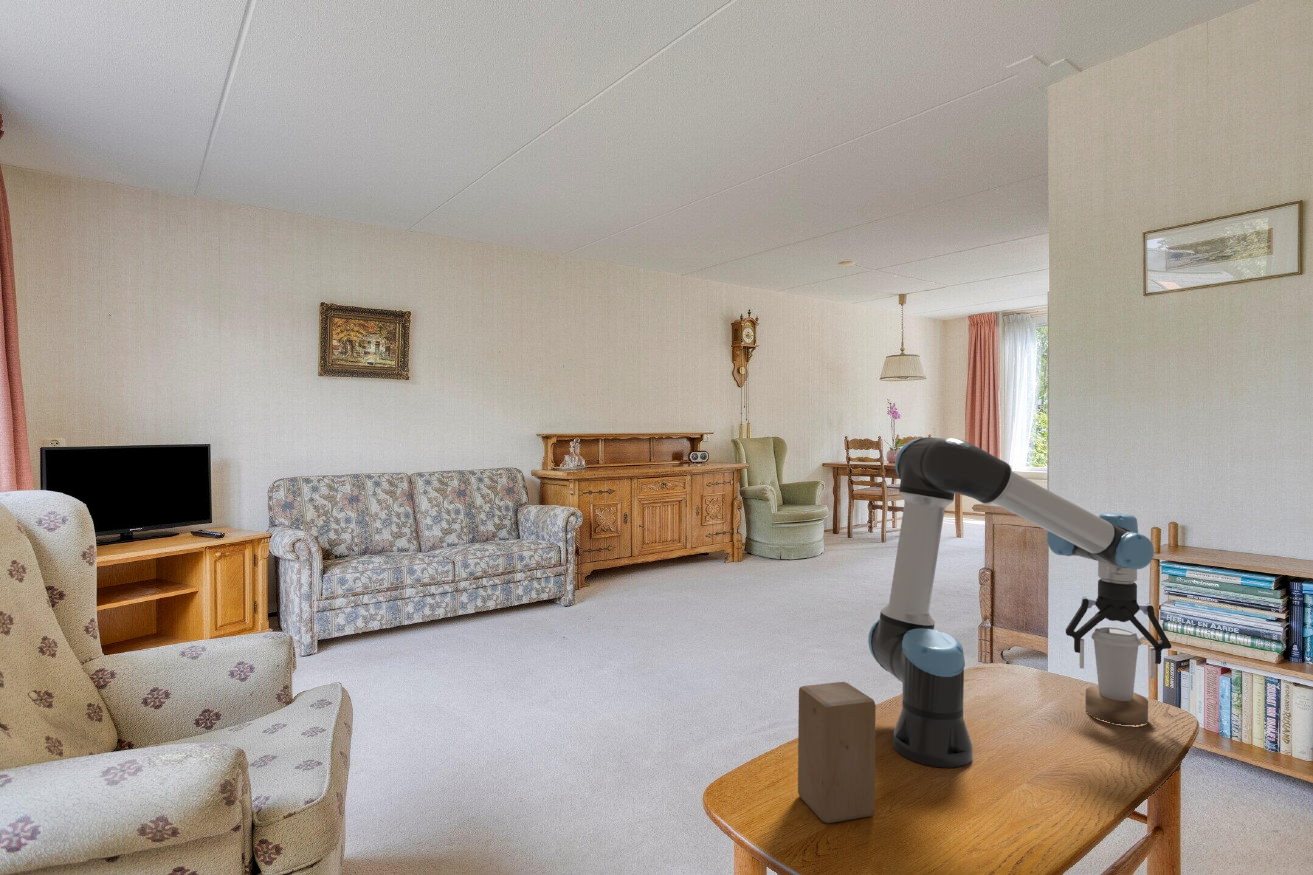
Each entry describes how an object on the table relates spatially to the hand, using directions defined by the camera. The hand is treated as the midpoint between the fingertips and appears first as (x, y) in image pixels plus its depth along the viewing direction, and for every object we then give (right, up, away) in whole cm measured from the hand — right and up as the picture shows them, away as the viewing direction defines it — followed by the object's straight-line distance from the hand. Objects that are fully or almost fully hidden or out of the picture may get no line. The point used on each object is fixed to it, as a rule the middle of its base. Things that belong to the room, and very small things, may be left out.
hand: (1116, 671), depth 158 cm
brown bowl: (0, -11, 0) cm, 11 cm away
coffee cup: (0, -6, 0) cm, 6 cm away
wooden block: (-76, -10, -39) cm, 86 cm away
